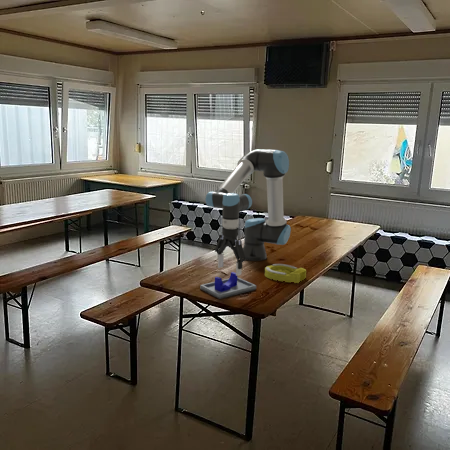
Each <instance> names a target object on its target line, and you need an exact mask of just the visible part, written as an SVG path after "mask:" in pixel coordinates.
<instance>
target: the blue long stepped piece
mask: <svg viewBox="0 0 450 450" xmlns="http://www.w3.org/2000/svg"><path fill="white" fill-rule="evenodd" d="M237 277H238V276H236V272H234V271H231V272H230V276H229V280H228V281H227V282H226V283H224V284H223V282H222V280H223V278H221V277H219V276H215V277H214V282H215V290H217V291H220V292H223V291H226V290H229V289H230V288H231V287H234V286H237Z"/></svg>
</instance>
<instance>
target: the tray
mask: <svg viewBox="0 0 450 450" xmlns="http://www.w3.org/2000/svg"><path fill="white" fill-rule="evenodd" d="M229 278H230V277H229ZM229 278H224V279H222V282H223V284H224V283H226V282H227V281H228V280H229ZM199 288H200V290H201V291H204V292H205V293H207V294H209V295H211V296H212V297H215V298H217V299H219V300H221V299H225V298H228V297H229V298H230V297H232V296H236V295H237V296H238V295H240V294H244V293H248V292H252V291H256V290H257V285H256V284H254V283H253V282H249V281H247V280H245V279H244V278H241V277H238V276H237V286H234V287H231V288H230V289H229V290H226V291H223V292H220V291H217V290H215V281H211V282H208V283H203V284H200V287H199Z"/></svg>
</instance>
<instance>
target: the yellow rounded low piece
mask: <svg viewBox="0 0 450 450" xmlns="http://www.w3.org/2000/svg"><path fill="white" fill-rule="evenodd" d="M264 277H265V278H267V279H270V280H272V279H273V281H277V280H278V282H283V281H285V282H284V283H291V282H294V284H300V283H301V282H303V281H305V280H306V279H305V278H307V269H305V268H303V267H299V268H298V267H295V266H294V265H290V264H284V263H273V264H271V265H267V266H266V267H264ZM304 279H305V280H304ZM302 280H303V281H302ZM300 281H301V282H300ZM299 282H300V283H299Z"/></svg>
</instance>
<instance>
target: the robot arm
mask: <svg viewBox="0 0 450 450" xmlns="http://www.w3.org/2000/svg"><path fill="white" fill-rule="evenodd" d="M289 168H290V160H289V156H288V154H287V152H286V151H283V150H279V149H263V148H262V149H261V148H259V149H254V150H251V151H249V152H248V153H246V154H245V155H243V156H242V157H241V158H240V159H239V160H238V161H237V165H236V167H235V168H234V169H233V170H232V171H231V172H230V173H229V175H228V176H227V177H226V179H224V180H223V182H222V183H221V184H220V185H219V187H218V188H217V189H216V190H215V191H209V192H207V193H206V196H205V204H206V206H207V207H211V208H214V209H221V210H222V223H221V224H222V230H221V234H218V235H219V236H218V241H217V243H216V246H215V248H214V251H215V253H216V254H217V268H219V269H220V268H223V267H224V261H225V260H224V255H225V254H224V251H225V250H226V249H227V247H228V248H230V249H231V250H232V252H233V254H234V256H235V259H236V261H235V273H236V276H237V277H238V276H241V275H242V269H243V263H244V262H246V261H251V262H260V261H261V262H262V261H265V260H266V259H267V252H266V247H265V243H268V244H274V245H278V246H279V245H281V246H283V245H286V244H287V242H288V240H289V239H290V237H291V231H292V228H291V226H290V225H289V224H288V223H287V219H285V218H284V217H285V216H284V215H285V213H284V188H283V187H284V185H283V179H284V177H285V176H286V174H287V173H288V171H289ZM254 172H262V173H263V174H262V175H263V177H264V178H265V179H266V195H267V197H266V199H267V214H268V215H267V216H268V217H267V219H266V218H262V217H257V218H256V217H255V218H249V219H246V220H245V223H244V241H243V243H244V244H243V243H242V240H241V239H239V240H238V236H239V230H240V229H239V226H240V213H242V212H243V211H247V210H248V209H250V208H251V207H252V205H253V199H252V197H251V196H250V195H249V194H247V193H241V194H238V193H235V192H236V191H237V189H238V188H239V187H240V186H241V185H242V183H244V181H245V180H246V178H247V177H248V176H250V175H252V174H253V173H254Z"/></svg>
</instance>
